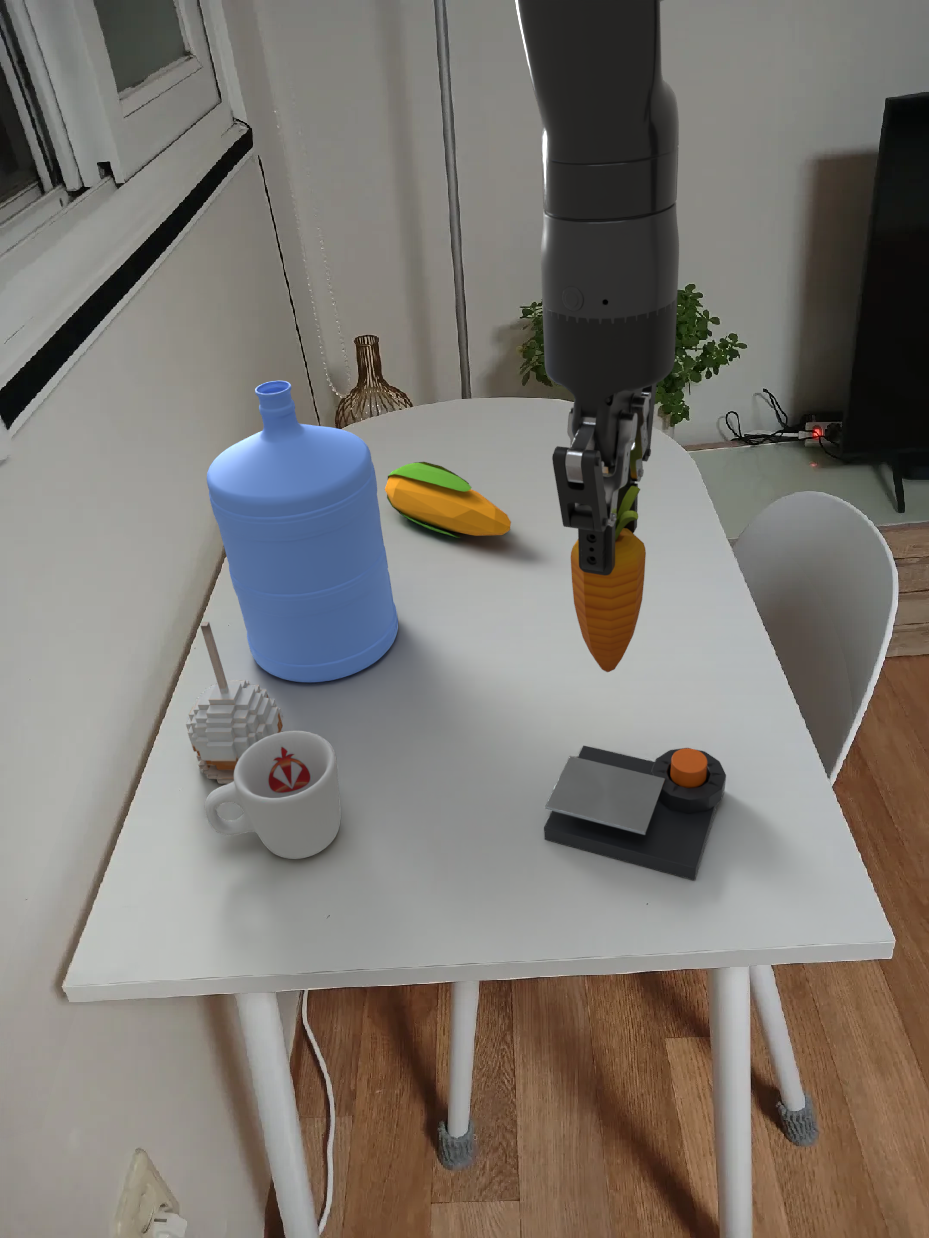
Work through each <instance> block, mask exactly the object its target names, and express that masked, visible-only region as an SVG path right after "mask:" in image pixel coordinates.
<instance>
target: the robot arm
mask: <svg viewBox="0 0 929 1238" xmlns="http://www.w3.org/2000/svg"><path fill="white" fill-rule="evenodd" d="M514 1H515V2H514V3H515V6H516V7H515V8H516V14H517V19H518V24H519V29H520V34H521V37H522V38H521V39H522V43H523V49H524V53H525V58H526V64H527V69H528V73H529V78H530V82H531V86H532V90H533V93H534V97H535V100H536V104H537V107H538V112H539V116H540V123H541V124H540V125H541V137H540V138H541V140H540V142H541V143H540V144H541V151H540V152H541V154H540V155H541V180H542V181H541V182H542V207H543V208H542V209H543V213H542V214H543V216H542V217H543V220H542V233H541V240H540V241H541V243H540V274H541V275H540V277H541V278H540V279H541V304H542V305H541V306H542V330H543V352H544V353H543V355H544V370H545V373H546V374H547V376H548V378H549V379H550V380H552V382H554V383H555V384H557V385H558V386H562V387H563V388H564V389H566V390H568V391H569V392H570V393H571V394H572V395H573V397H574V401H573V406H572V407H571V408H570V410H569V411H568V417H567V431H566V432H567V436H568V437H569V439H570V441H569V442H570V444H569V447H567V446H558V445H557V446H555V448H554V450H553V453H552V457H551V460H552V466H553V468H552V469H553V473H554V478H555V486H556V490H557V498H558V504H559V510H560V515H561V522H562V526H563V527H564V528H571V529H577V540H578V549H579V568H580V569H581V570H582V571H583V572H586V573H592V574H599V575H605V576H606V575H609V574H611V572H612V570H613V569H614V567H615V521H616V518H617V515H618V512H619V509H620V506H621V504H622V501H623V498H624V497H625V495H626V493H627V491H628V490H629V488H630V487H631V486H637V487H638V488H639V483H640V482H641V480H642V477H644V464H643V462H648V461H649V458H650V457H651V454H652V449H651V447H652V446H651V445H652V435H653V434H652V433H653V424H654V414H655V406H656V405H655V404H656V403H655V402H656V396H657V395H656V394H657V384H658V383H660V382H661V381H663V380H664V379H665V378H667V377H668V376H669V375H670V374H671V372H672V370H673V369H674V367H675V361H676V360H675V359H676V338H677V335H676V334H677V311H678V290H679V287H678V286H679V265H680V238H679V226H678V217H677V215H678V214H677V198H678V197H677V194H678V174H679V173H678V172H679V171H678V170H679V146H680V145H679V143H680V136H679V135H680V122H679V120H680V118H679V108H678V101H677V97H676V94H675V91H674V90H673V88H672V87H671V85H670V84H669V83H668V82H667V81H665V80H664V78H663V70H662V28H661V27H662V26H661V25H662V24H661V3H662V2H663V1H664V0H514ZM638 501H639V494H638V495H637V496H636V498H635V500H634V502H633V504H632V506H631V508H630V510H629V511H635V512H637V513H638V507H639V506H638V503H639V502H638ZM624 528H627V529H629V530H630V531H631V532H632V533H633V534H635V532H636V530H637V528H638V519H637V520H632V521H630V522H629V523H627V524H626V525H625V527H624Z"/></svg>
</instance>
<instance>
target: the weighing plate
mask: <svg viewBox="0 0 929 1238" xmlns="http://www.w3.org/2000/svg"><path fill="white" fill-rule="evenodd" d="M577 757H578V756H577ZM577 757H576V756H572V755H569V756H568V758H567V761H566V763H565V765H564V767H563V769H562V771H561V773H560V775H559V777H558V778H557V781H556V784H555V785H554V787H553V789H552V791H551V793H550V795H549V798H548V799H547V802H546V803H545V805H544V809H545V810H548V811H551V812H552V811H555V812H559V813H563V814H567V815H570V816H574V817H578V818H582V819H586V820H589V821H593V822H597V823H601V824H605V825H608V826H612V827H616V828H620V829H624V830H627V831H631V832H635V833H639V834H643V835H646V832H647V829H648V826H649V824H650V821H651V818H652V816H653V813H654V810H655V807H656V805H657V802H658V799H659V797H660V794H661V791H662V788H663V786H664V783H665V778H661V777H657V776H653V775H648V774H644V773H640V772H636V771H632V770H627V769H623V768H619V767H615V766H611V765H606V764H602V763H598V762H594V761H590V760H585V759H581V758H577Z"/></svg>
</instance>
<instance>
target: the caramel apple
mask: <svg viewBox="0 0 929 1238" xmlns="http://www.w3.org/2000/svg"><path fill="white" fill-rule="evenodd" d="M200 629H201V632H202V636H203V640H204V642H205V646H206V649H207V652H208V656H209V659H210V663H211V665H212V669H213V672H214V676H215V679H216V682H217V683H215V684H211V685H210V686H209V687H205V689H204V691H203V692H200V695H199V697H196V698H195V701H194V703H193V704H192V706H191V709H190V711H189V713H188V718H187V720H186V723H185V727H186V729H187V735H188V738H189V741H190V744H191V748H192V750H193V752H194V753H195V752H196V754H197V755H196V759H197V761H198V762H199V763H198V768H199V770H201V771H202V773H203V775H206V777H207V779H209V780H216V781H217V784H229V783H231V782H233V781H234V770H235V766H236V764H237V762H238V760H239V758H240V757H241V756H242V754H243V753H244V752H245V751H246V750H247V749H248V748H249V747H251V746H252V745H253V744H254V743H256V742H258V741H259V740H261V739H263V738H265V737H268V736H270V735H273V734H276V733H280V732H284V731H282V730H283V725H284V724H283V722H282V721H283V719H284V716H283V715H284V714H283V711H282V708H281V707H279V706H278V704H277V701H276V699H275V698H270V697H269V694H268V690H267V689H261V687H260V684H250V681H249V680H246V679H227V678H226V675H225V671H224V668H223V665H222V661H221V657H220V655H219V651H218V648H217V644H216V640H215V637H214V634H213V631H212V630H213V629H212V626H211V624H210V621H202V622H201V624H200Z"/></svg>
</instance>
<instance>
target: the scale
mask: <svg viewBox="0 0 929 1238" xmlns="http://www.w3.org/2000/svg"><path fill="white" fill-rule="evenodd" d="M686 748H687V747H682V748H674V749H669V750H667V751H666V752H664V753H663V754H661V755H659V756H658V757H656V759H655V760H654V761H652V760H648V759H644V758H641V757H635V756H631V755H627V754H623V753H619V752H614V751H610V750H605V749H601V748H597V747H593V746H589V745H582V747H581V749H580V751H579V753H578V755H577V758H581V759H585V760H590V761H594V762H598V763H602V764H606V765H611V766H615V767H619V768H623V769H627V770H632V771H636V772H640V773H644V774H648V775H653V776H657V777H661V778H665V783H664V786H663V788H662V791H661V794H660V797H659V799H658V802H657V805H656V807H655V810H654V813H653V816H652V818H651V821H650V824H649V826H648V829H647V832H646V835H643V834H639V833H635V832H631V831H627V830H624V829H620V828H616V827H612V826H608V825H605V824H601V823H597V822H593V821H589V820H586V819H582V818H578V817H574V816H570V815H567V814H563V813H559V812H555V811H551V812H550V814H549V816H548V819H547V820H546V823H545V825H544V827H543V835H544V840H545V841H549V842H553V843H557V844H560V845H563V846H567V847H571V848H575V849H578V850H582V851H585V852H588V853H593V854H596V855H600V856H605V857H608V858H611V859H615V860H618V861H622V862H625V863H629V864H633V865H637V866H640V867H644V868H648V869H651V870H655V871H658V872H662V873H666V874H670V875H672V876H677V877H680V878H683V879H687V880H691V881H696V878H697V876H698V872H699V868H700V865H701V861H702V858H703V855H704V851H705V848H706V845H707V841H708V838H709V835H710V831H711V828H712V826H713V822H714V818H715V814H716V812H717V808H718V805H719V803H721V802H722V799H723V796H724V793H725V789H726V781H727V774H726V772H725V769H724V768H723V765H722V763H721V761H719V760H718V759H717V758H716V757H713V755H711V754H709V753H708V752H706V751H704V750H701V749H695V748H694V749H695V750H698V751H700V752H701V753H703V754H704V755H705V757H706V758H707V773H706V780H705V782H704V783H703V784H702V785H701V786H699V787H696V788H685V787H681V786H679V785H677V784H676V783H675V782H674V781H673V780H672V778H671V775H670V774H671V758H672V756H673V754H674V753H675V752H676V751H678V750H681V749H686ZM688 748H689V749H692V748H691V747H688Z"/></svg>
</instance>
